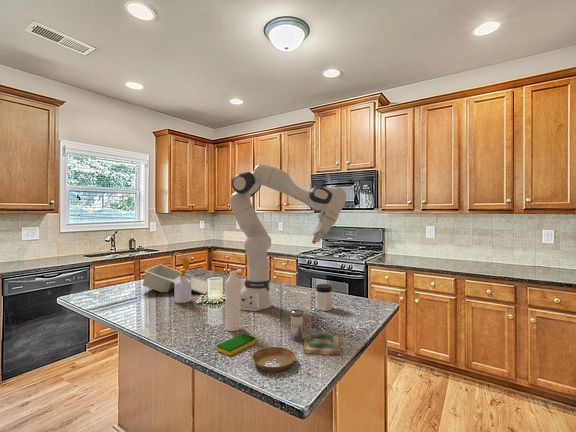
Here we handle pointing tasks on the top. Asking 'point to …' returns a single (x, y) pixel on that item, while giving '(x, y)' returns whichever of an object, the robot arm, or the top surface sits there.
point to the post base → (321, 344)
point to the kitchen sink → (170, 279)
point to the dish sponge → (235, 344)
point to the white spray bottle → (233, 302)
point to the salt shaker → (296, 324)
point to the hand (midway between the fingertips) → (315, 242)
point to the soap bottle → (183, 285)
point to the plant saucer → (273, 353)
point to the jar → (323, 297)
